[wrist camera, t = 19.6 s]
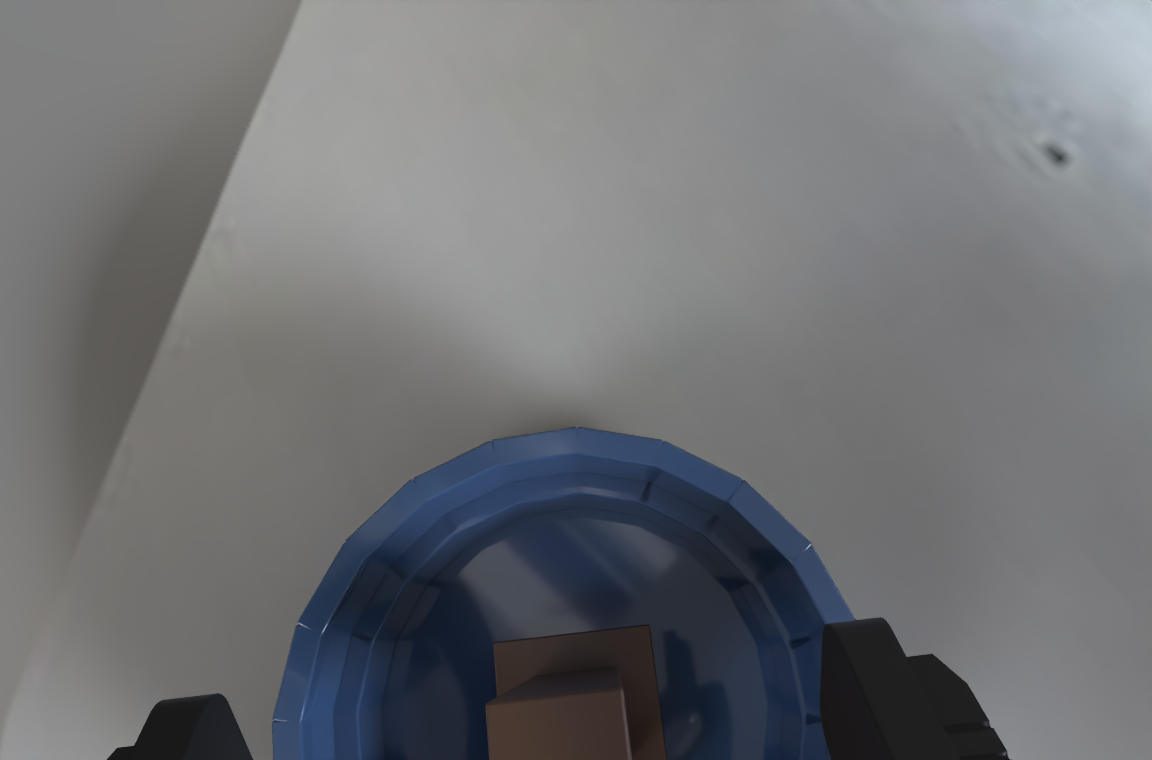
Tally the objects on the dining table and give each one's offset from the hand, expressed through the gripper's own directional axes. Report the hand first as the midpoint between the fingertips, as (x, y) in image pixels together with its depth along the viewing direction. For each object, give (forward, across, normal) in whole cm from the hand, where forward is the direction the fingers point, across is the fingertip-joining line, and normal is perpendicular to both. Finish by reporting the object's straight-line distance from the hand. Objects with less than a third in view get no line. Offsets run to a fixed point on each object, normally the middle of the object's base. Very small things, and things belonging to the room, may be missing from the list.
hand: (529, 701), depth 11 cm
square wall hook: (+11, 0, +13) cm, 17 cm away
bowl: (+11, 0, +13) cm, 17 cm away
